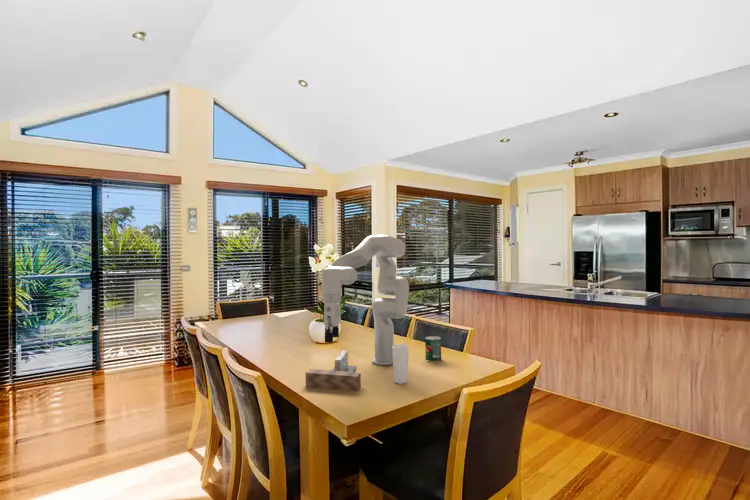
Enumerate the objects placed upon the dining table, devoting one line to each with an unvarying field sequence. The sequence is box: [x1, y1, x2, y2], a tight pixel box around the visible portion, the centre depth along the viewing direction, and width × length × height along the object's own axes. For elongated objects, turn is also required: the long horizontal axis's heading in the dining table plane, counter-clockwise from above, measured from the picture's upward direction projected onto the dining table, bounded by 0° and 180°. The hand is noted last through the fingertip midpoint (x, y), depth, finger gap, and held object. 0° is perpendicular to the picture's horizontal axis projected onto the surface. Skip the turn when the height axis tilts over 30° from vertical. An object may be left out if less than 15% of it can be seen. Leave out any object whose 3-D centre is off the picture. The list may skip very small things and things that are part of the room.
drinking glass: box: [392, 343, 409, 385], centre depth 161 cm, size 7×7×15 cm
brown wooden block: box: [305, 368, 362, 392], centre depth 157 cm, size 22×5×6 cm, turn 75°
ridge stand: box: [331, 349, 357, 372], centre depth 172 cm, size 10×18×8 cm, turn 172°
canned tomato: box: [424, 335, 442, 362], centre depth 193 cm, size 8×8×11 cm
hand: (332, 339), depth 157 cm, fingers open, 9 cm apart
